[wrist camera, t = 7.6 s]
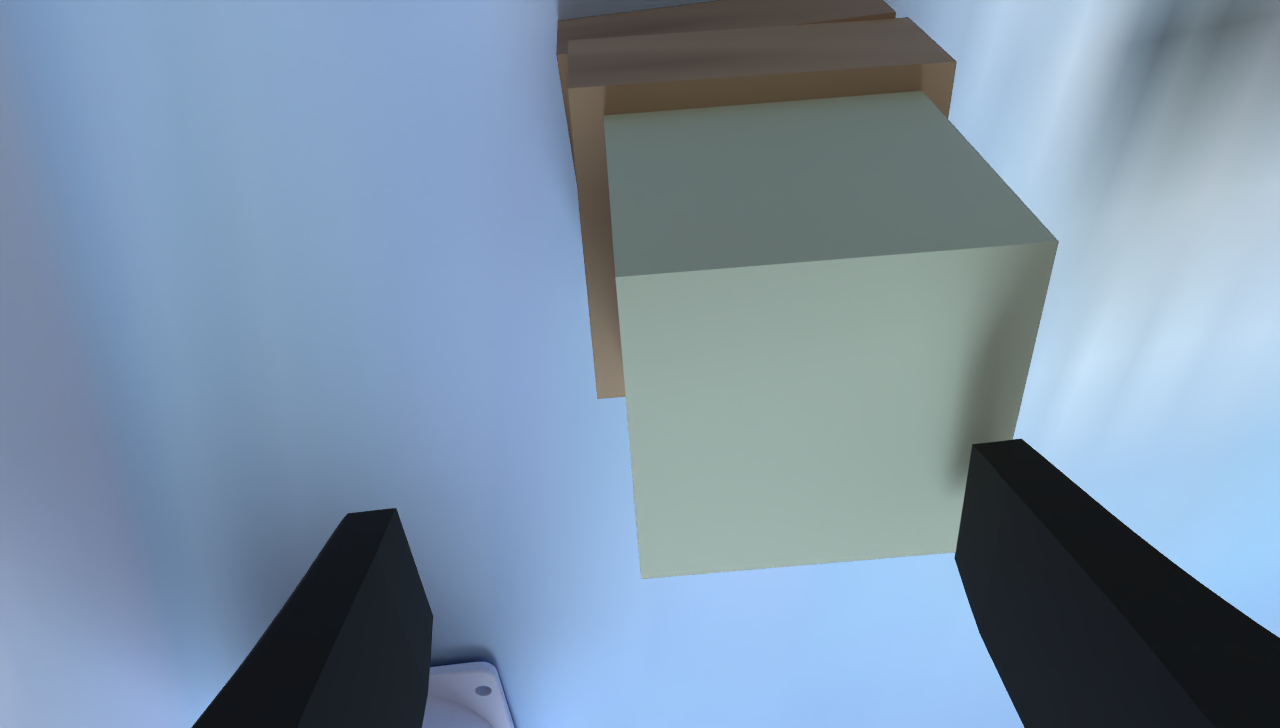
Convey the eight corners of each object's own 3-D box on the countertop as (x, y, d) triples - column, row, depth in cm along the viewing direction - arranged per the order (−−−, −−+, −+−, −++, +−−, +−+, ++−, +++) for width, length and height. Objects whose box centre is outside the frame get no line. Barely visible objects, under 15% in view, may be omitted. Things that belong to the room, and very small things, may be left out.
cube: (890, 351, 17) (986, 549, 13) (625, 373, 17) (641, 578, 13) (921, 90, 14) (1058, 241, 10) (603, 115, 14) (615, 277, 10)
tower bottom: (850, 245, 22) (879, 301, 20) (598, 276, 22) (600, 335, 20) (859, -23, 18) (895, 12, 16) (558, 15, 18) (556, 55, 16)
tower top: (874, 306, 20) (909, 375, 18) (594, 327, 20) (597, 399, 18) (907, 17, 16) (956, 61, 14) (568, 40, 16) (567, 88, 14)
